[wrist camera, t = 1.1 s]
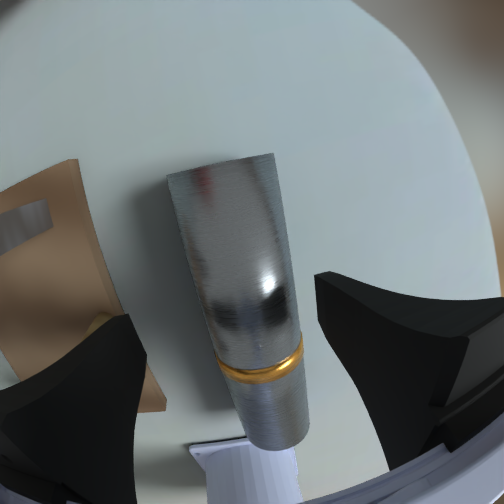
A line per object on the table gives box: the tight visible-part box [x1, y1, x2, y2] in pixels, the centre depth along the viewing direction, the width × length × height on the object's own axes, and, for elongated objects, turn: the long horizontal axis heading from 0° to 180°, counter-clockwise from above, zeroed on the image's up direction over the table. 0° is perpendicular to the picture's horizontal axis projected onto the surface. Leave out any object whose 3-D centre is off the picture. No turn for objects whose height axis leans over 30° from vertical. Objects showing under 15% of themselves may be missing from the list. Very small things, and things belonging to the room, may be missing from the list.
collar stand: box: [0, 159, 167, 413], centre depth 10 cm, size 15×11×6 cm
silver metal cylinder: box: [166, 153, 310, 451], centre depth 12 cm, size 15×4×4 cm, turn 11°
